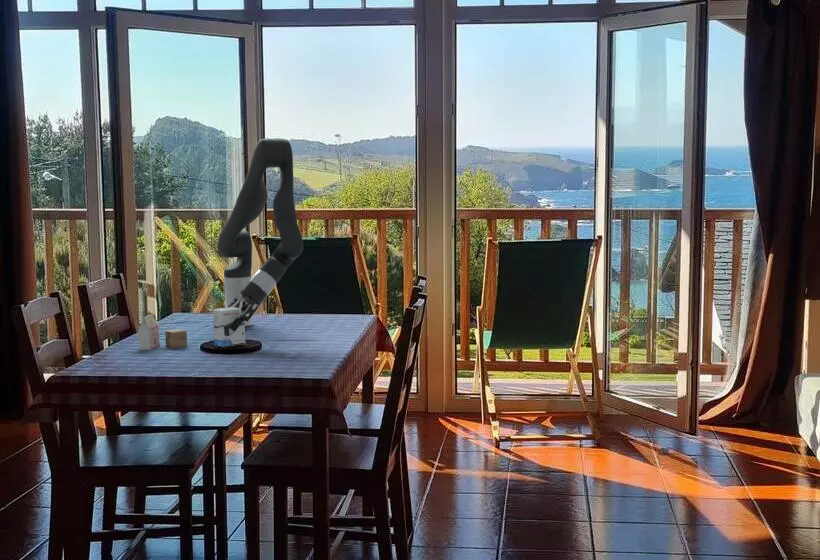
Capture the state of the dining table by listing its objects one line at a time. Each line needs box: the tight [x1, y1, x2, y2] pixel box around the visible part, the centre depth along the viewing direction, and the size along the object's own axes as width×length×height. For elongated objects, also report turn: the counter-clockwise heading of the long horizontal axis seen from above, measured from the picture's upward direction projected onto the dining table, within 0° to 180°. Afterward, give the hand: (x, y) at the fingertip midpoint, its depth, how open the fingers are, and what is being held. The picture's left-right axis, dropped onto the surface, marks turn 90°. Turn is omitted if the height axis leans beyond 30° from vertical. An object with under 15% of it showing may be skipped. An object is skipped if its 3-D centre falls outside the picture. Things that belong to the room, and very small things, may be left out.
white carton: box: [137, 313, 161, 351], centre depth 296 cm, size 4×7×10 cm, turn 171°
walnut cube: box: [164, 328, 188, 349], centre depth 298 cm, size 5×5×5 cm
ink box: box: [212, 307, 246, 347], centre depth 296 cm, size 8×5×12 cm, turn 131°
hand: (225, 327), depth 295 cm, fingers open, 8 cm apart
